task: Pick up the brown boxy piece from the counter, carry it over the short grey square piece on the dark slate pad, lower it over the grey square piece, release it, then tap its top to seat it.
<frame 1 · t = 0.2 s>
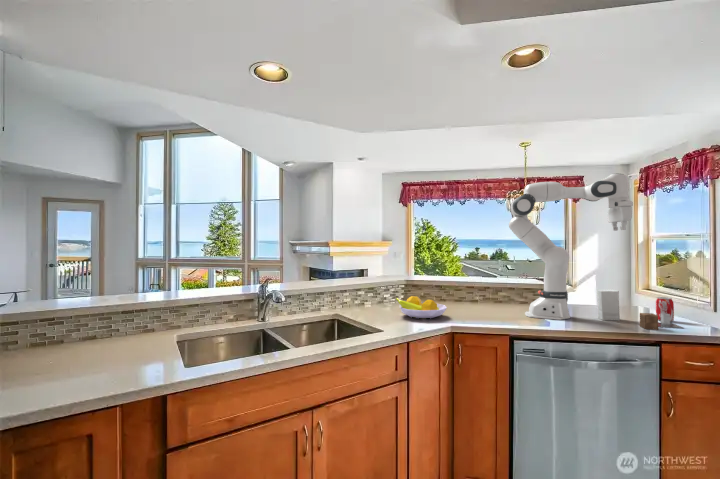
hand: (619, 230, 186), 47 cm above the countertop, fingers open, 8 cm apart
skincare box: (608, 319, 187), on the countertop
grey square piece: (665, 325, 172), on the countertop
soda can: (664, 321, 182), on the countertop
fruit bowl: (420, 316, 199), on the countertop
brown boxy piece: (648, 328, 167), on the countertop
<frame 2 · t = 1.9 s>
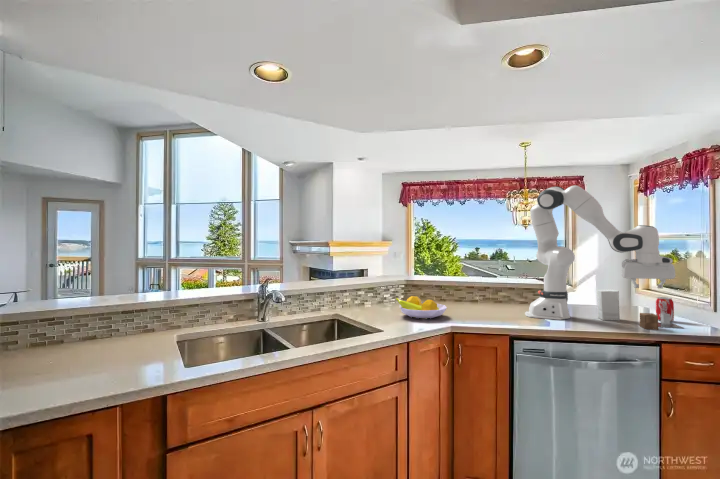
hand: (648, 288, 167), 19 cm above the countertop, fingers open, 8 cm apart
nothing on the countertop moved.
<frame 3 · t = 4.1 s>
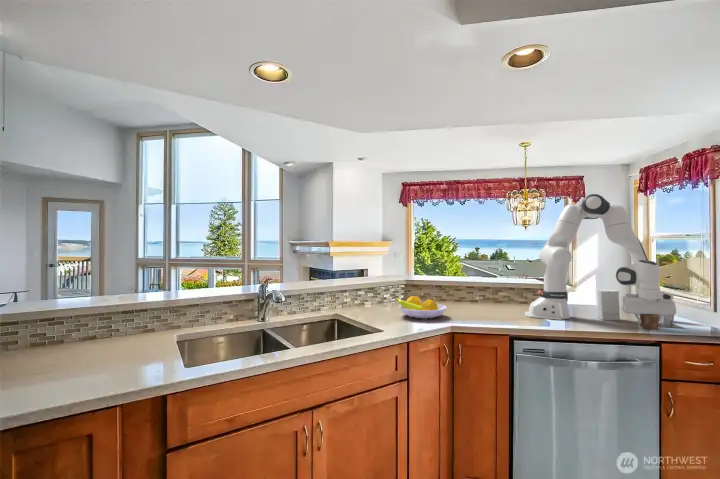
hand: (648, 323, 167), 2 cm above the countertop, fingers closed on brown boxy piece, 5 cm apart
brown boxy piece: (648, 328, 167), on the countertop, touching gripper
everything else where it was.
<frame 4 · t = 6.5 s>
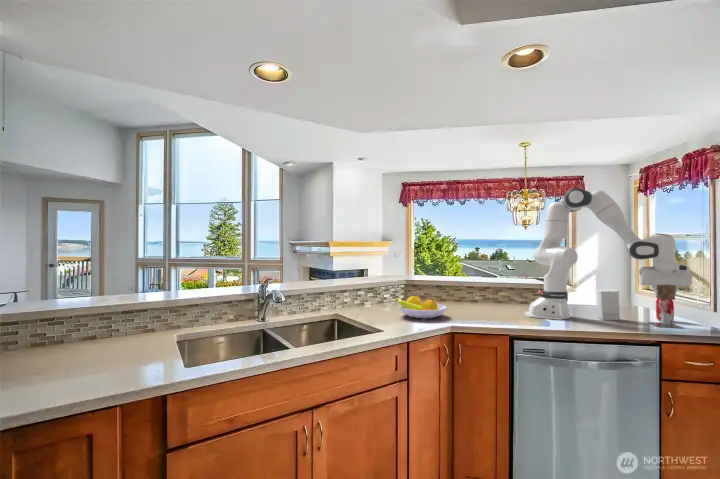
hand: (665, 294, 172), 15 cm above the countertop, fingers closed on brown boxy piece, 5 cm apart
brown boxy piece: (665, 298, 172), point 13 cm above the countertop, touching gripper
everything else where it was.
when the fingers open (3 cm above the countertop, at t = 9.1 s): brown boxy piece stays where it is, resting on grey square piece.
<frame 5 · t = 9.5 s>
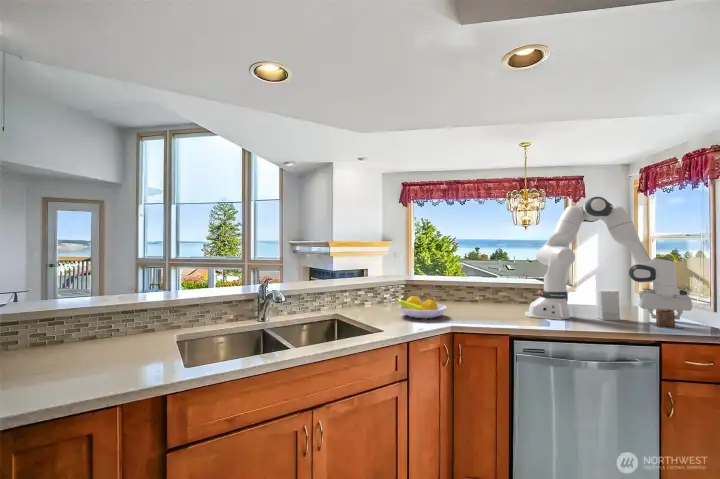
hand: (665, 318, 172), 3 cm above the countertop, fingers open, 8 cm apart
brown boxy piece: (665, 324, 172), resting on grey square piece
everything else where it was.
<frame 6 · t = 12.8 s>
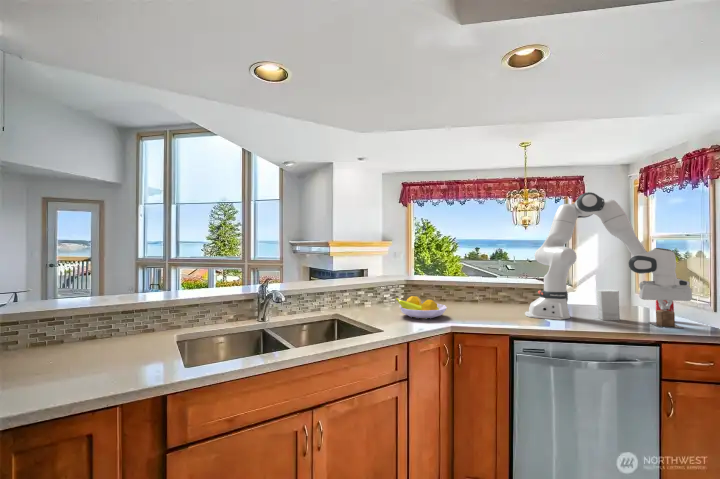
hand: (665, 309, 172), 8 cm above the countertop, fingers closed
nothing on the countertop moved.
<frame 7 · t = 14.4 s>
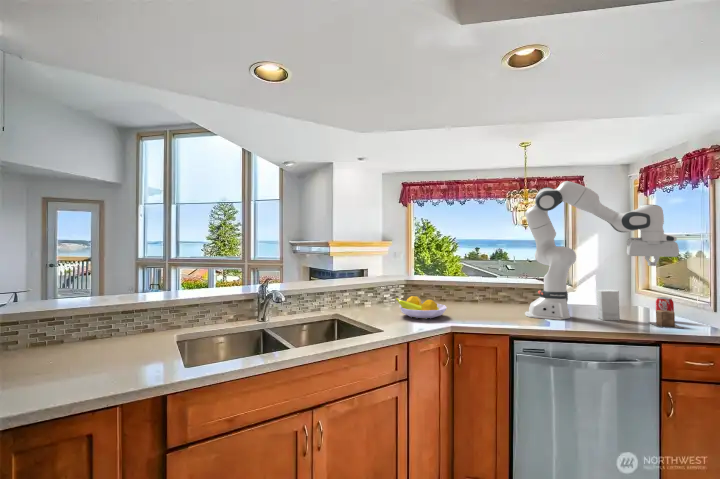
hand: (652, 265, 172), 29 cm above the countertop, fingers closed
nothing on the countertop moved.
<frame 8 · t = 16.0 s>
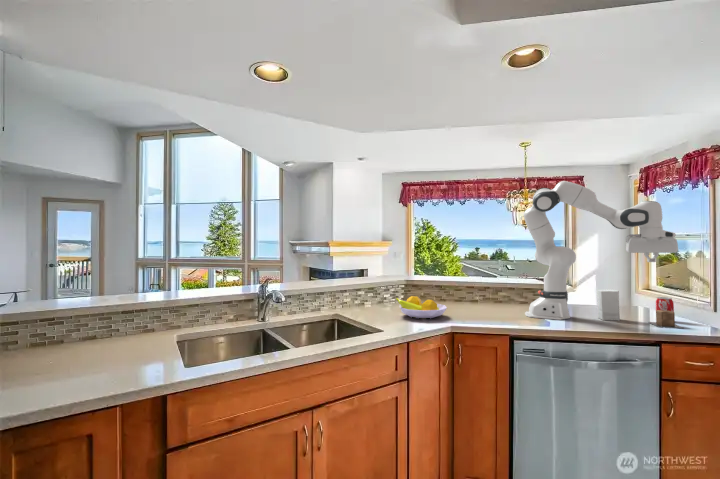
hand: (651, 262, 172), 31 cm above the countertop, fingers closed
nothing on the countertop moved.
at the end: brown boxy piece 0.1 cm from the grey square piece (horizontally); brown boxy piece resting on grey square piece; the gripper is holding nothing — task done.
